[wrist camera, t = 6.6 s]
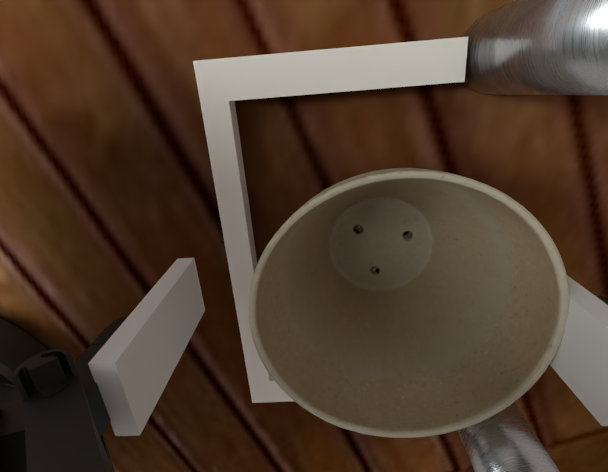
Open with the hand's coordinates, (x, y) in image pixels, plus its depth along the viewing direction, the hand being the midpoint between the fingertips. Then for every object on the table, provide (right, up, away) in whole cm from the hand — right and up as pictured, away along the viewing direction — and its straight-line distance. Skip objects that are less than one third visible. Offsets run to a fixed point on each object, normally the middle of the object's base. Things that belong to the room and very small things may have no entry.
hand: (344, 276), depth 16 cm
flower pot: (+2, +2, +3) cm, 4 cm away
